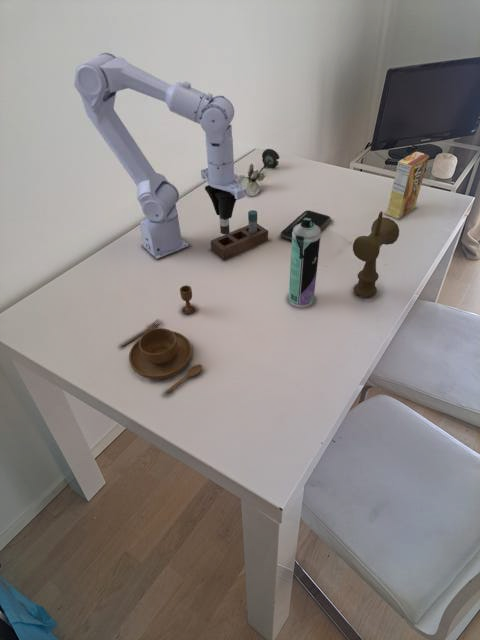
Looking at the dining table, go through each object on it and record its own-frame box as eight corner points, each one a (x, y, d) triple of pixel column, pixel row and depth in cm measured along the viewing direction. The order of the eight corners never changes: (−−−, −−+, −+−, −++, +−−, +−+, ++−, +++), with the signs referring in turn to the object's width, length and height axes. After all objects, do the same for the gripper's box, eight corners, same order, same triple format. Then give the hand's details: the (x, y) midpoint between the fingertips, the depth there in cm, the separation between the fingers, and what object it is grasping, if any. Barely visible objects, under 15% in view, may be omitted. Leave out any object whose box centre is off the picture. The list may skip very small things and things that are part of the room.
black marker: (223, 235, 105) (221, 205, 99) (218, 231, 106) (216, 201, 101) (231, 232, 106) (230, 202, 100) (226, 228, 107) (224, 198, 102)
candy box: (402, 203, 125) (415, 150, 114) (415, 208, 122) (430, 154, 112) (385, 214, 120) (397, 160, 110) (399, 219, 118) (412, 165, 108)
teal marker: (252, 243, 112) (251, 215, 107) (247, 239, 114) (246, 212, 108) (259, 240, 113) (259, 212, 108) (253, 236, 114) (253, 209, 109)
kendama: (387, 287, 97) (407, 205, 83) (366, 309, 92) (384, 226, 78) (362, 277, 100) (378, 197, 86) (341, 298, 95) (355, 216, 81)
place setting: (110, 351, 85) (102, 329, 81) (188, 303, 95) (184, 282, 91) (163, 401, 76) (158, 379, 72) (244, 342, 86) (243, 320, 82)
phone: (279, 233, 113) (306, 209, 121) (279, 237, 113) (306, 213, 122) (305, 242, 109) (332, 216, 118) (305, 246, 110) (331, 220, 119)
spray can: (312, 309, 92) (321, 227, 79) (287, 306, 93) (291, 224, 80) (314, 293, 96) (323, 212, 83) (290, 290, 97) (294, 210, 84)
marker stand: (223, 260, 107) (223, 250, 105) (211, 250, 110) (210, 240, 108) (268, 240, 113) (268, 230, 111) (255, 231, 116) (254, 222, 114)
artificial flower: (284, 172, 146) (291, 146, 138) (251, 208, 134) (257, 182, 125) (261, 161, 147) (267, 135, 139) (227, 195, 135) (231, 169, 127)
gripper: (255, 165, 91) (255, 222, 100) (216, 145, 100) (220, 199, 109) (228, 174, 88) (231, 232, 97) (191, 153, 97) (197, 208, 106)
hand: (224, 216), depth 103 cm, fingers closed on black marker, 2 cm apart
